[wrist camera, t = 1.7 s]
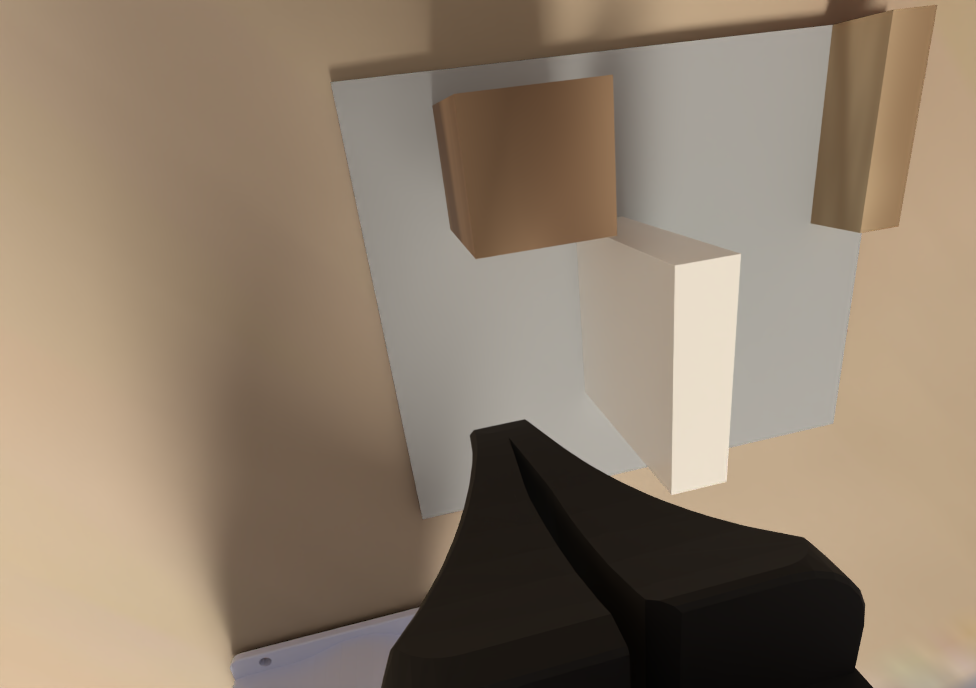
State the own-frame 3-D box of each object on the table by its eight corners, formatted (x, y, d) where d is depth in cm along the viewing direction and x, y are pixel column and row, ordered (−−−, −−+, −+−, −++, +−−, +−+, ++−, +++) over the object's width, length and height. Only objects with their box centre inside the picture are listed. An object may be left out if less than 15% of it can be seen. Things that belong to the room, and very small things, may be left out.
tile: (584, 391, 22) (671, 494, 16) (575, 223, 19) (675, 265, 13) (628, 382, 22) (731, 480, 16) (625, 215, 20) (746, 252, 13)
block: (450, 229, 19) (475, 259, 14) (432, 105, 17) (454, 94, 13) (559, 212, 19) (617, 235, 15) (550, 90, 18) (613, 74, 13)
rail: (810, 223, 21) (860, 233, 19) (832, 24, 19) (893, 10, 17) (845, 217, 22) (898, 226, 19) (871, 20, 19) (937, 4, 17)
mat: (421, 513, 23) (422, 519, 23) (331, 83, 17) (330, 81, 16) (826, 419, 26) (833, 423, 26) (884, 19, 19) (893, 17, 19)
